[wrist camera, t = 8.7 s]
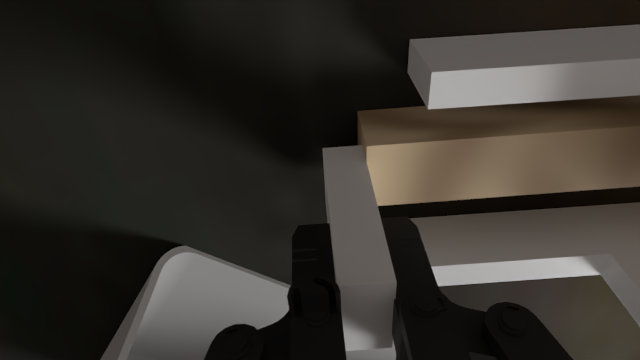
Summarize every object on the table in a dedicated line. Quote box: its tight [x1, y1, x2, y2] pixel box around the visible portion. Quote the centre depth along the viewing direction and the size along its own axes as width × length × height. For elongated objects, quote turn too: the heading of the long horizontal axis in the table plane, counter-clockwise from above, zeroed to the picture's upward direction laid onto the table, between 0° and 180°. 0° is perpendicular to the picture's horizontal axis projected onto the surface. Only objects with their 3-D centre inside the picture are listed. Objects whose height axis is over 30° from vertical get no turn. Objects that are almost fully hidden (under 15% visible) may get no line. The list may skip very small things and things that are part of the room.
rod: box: [357, 95, 640, 206], centre depth 17 cm, size 18×3×3 cm, turn 93°
